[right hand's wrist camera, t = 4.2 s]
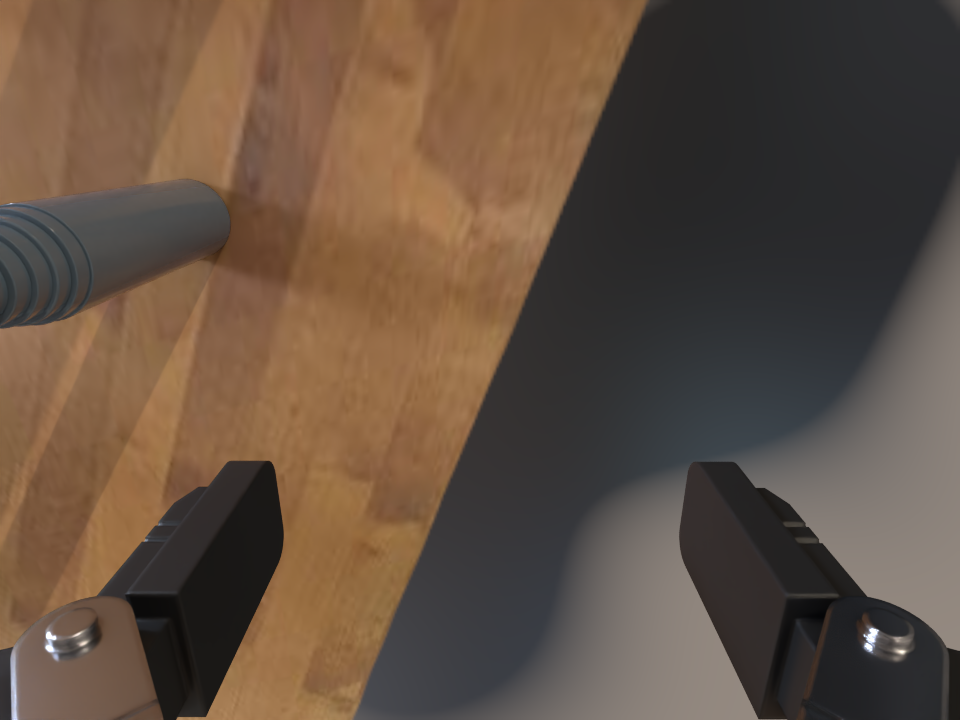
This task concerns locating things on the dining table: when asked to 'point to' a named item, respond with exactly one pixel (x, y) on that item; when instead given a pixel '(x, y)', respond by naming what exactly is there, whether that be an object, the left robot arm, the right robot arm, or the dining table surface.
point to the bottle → (101, 245)
